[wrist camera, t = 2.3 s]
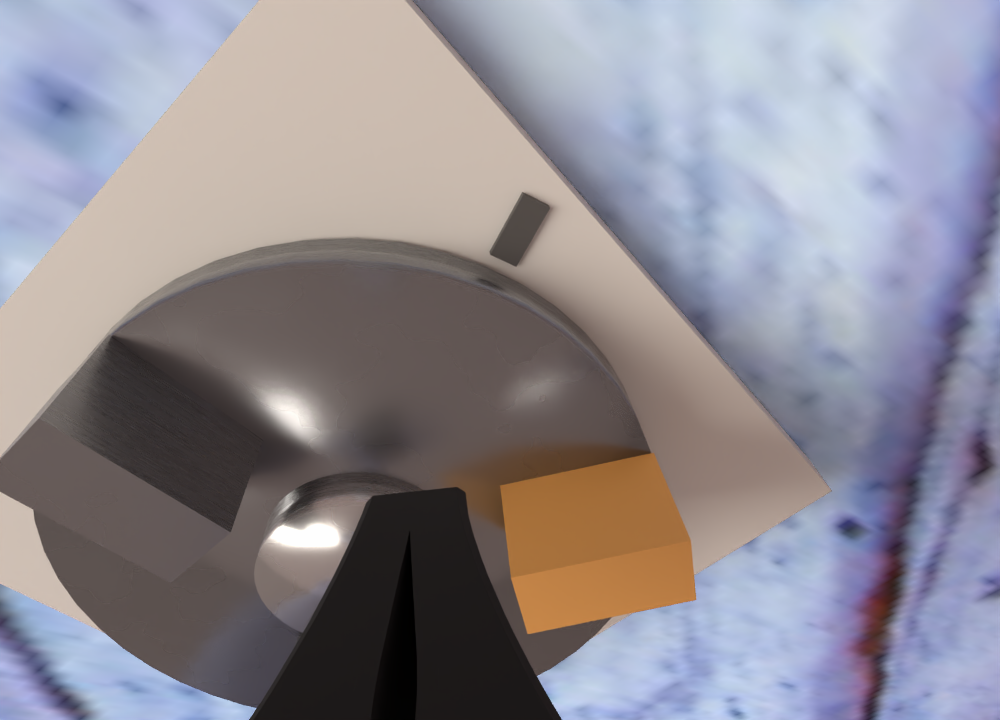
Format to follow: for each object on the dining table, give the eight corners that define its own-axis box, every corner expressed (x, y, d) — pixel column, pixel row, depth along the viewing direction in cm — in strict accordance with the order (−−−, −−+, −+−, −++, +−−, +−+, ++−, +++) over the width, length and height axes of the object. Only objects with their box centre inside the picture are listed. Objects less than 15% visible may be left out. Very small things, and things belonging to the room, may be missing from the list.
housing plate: (809, 459, 22) (835, 495, 21) (386, 728, 28) (383, 770, 27) (340, -83, 14) (328, -86, 12) (-126, 468, 20) (-171, 510, 18)
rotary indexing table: (746, 496, 21) (818, 626, 17) (381, 729, 25) (371, 872, 22) (339, 82, 14) (301, 138, 10) (-57, 508, 19) (-189, 660, 15)
